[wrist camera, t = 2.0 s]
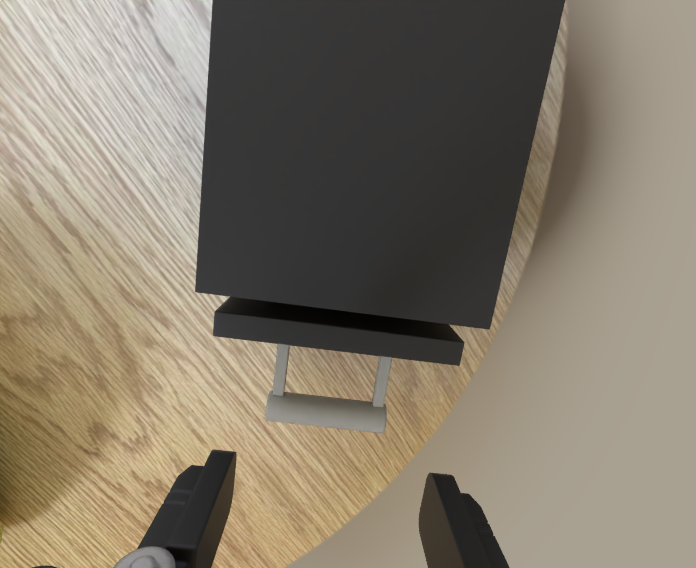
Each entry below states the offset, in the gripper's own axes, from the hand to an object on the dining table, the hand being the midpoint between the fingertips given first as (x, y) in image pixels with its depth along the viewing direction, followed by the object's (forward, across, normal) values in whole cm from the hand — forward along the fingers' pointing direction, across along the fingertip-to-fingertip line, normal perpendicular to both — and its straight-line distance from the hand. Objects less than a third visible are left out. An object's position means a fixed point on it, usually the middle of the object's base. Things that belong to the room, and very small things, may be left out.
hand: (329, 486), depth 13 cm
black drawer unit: (+15, 0, -12) cm, 19 cm away
